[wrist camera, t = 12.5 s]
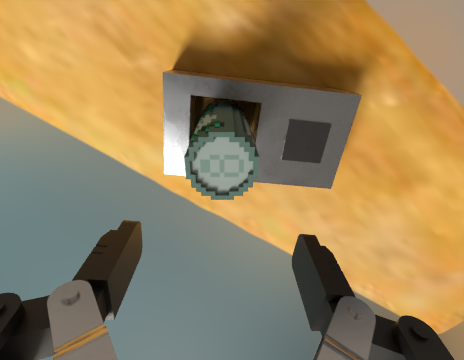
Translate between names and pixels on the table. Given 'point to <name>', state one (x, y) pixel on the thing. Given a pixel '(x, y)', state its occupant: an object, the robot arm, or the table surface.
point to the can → (222, 153)
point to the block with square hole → (266, 124)
